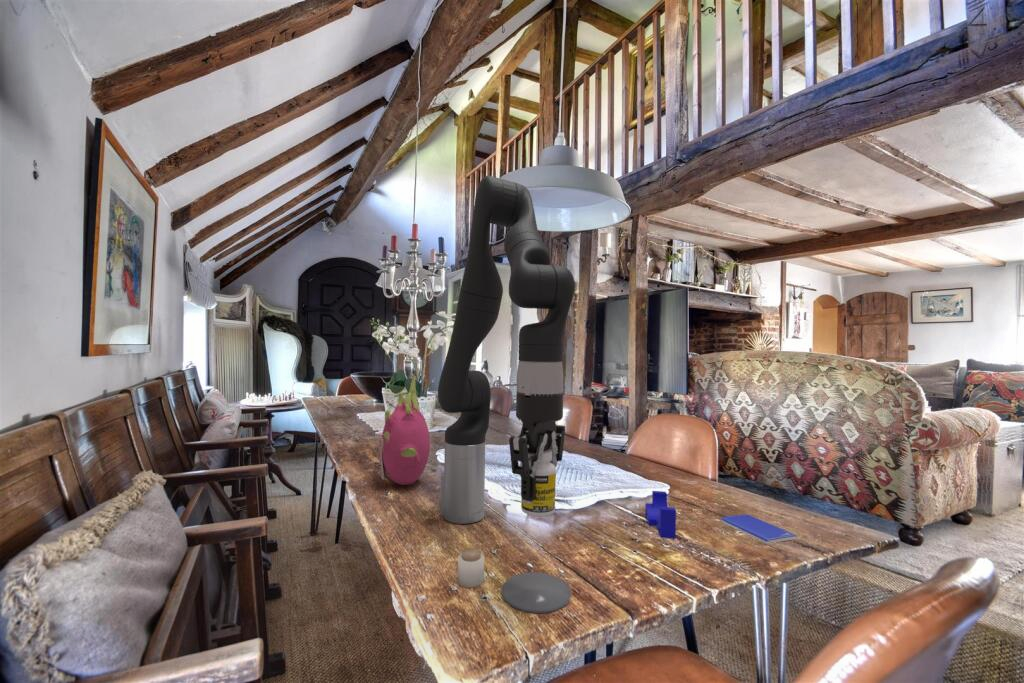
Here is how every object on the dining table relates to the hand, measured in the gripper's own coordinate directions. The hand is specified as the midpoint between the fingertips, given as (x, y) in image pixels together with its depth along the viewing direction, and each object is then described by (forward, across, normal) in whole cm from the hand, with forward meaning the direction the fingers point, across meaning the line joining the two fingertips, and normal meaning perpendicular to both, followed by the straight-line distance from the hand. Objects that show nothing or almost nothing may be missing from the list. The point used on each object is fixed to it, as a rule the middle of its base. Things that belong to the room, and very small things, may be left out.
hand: (538, 494), depth 75 cm
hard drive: (+17, -50, +26) cm, 59 cm away
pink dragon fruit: (+16, -26, -58) cm, 66 cm away
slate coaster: (+16, 0, 0) cm, 16 cm away
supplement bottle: (+3, 0, 0) cm, 3 cm away
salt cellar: (+16, +3, -11) cm, 20 cm away
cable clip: (+16, -39, +8) cm, 43 cm away
